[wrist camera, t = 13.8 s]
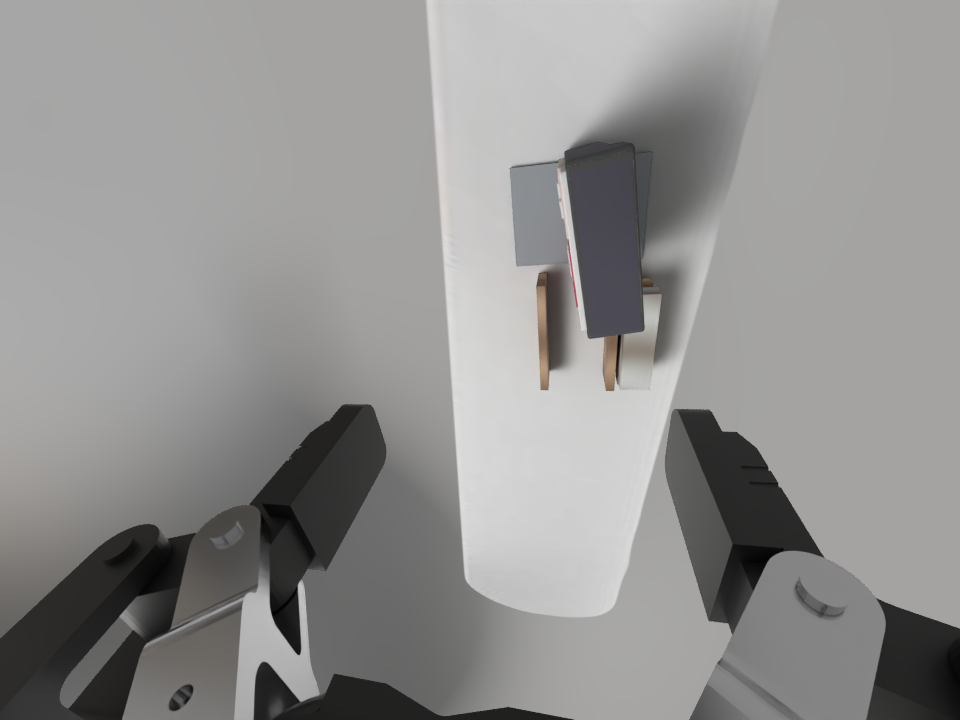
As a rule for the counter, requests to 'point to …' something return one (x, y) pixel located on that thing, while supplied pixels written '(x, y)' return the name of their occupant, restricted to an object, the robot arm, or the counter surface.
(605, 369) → the rack
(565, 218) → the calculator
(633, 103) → the counter surface
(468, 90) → the counter surface
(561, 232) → the slate mat
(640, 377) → the offcut stack
